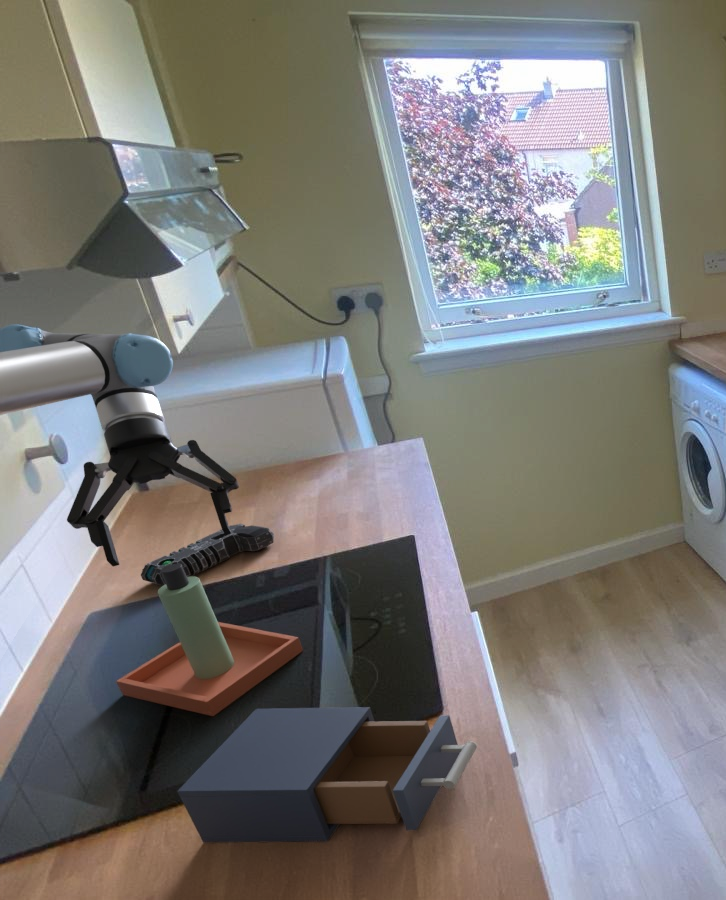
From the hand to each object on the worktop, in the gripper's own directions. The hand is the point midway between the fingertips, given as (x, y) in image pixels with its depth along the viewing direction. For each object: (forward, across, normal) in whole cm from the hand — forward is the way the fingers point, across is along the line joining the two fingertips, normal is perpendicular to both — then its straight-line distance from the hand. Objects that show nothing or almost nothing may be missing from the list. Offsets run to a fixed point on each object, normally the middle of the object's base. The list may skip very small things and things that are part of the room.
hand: (172, 546), depth 111 cm
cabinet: (+44, -7, +19) cm, 49 cm away
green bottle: (+19, 0, -5) cm, 20 cm away
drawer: (+50, -17, +26) cm, 58 cm away
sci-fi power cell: (-8, -1, -34) cm, 35 cm away
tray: (+19, 0, -6) cm, 20 cm away
